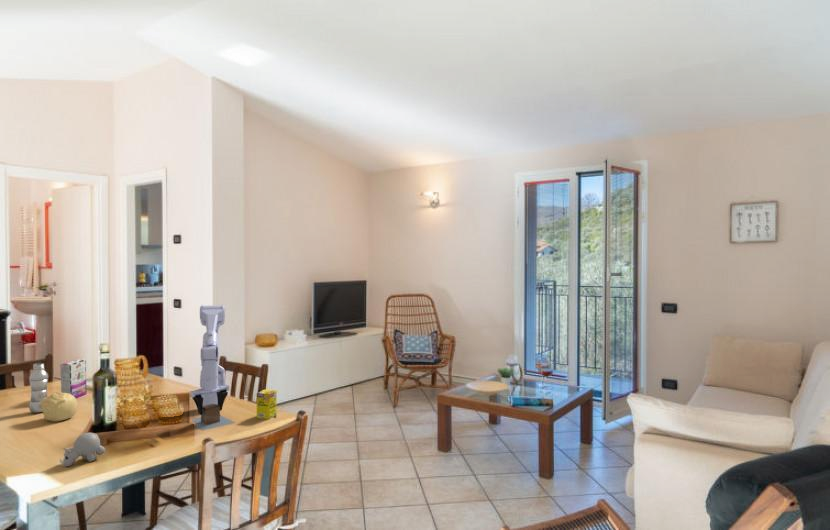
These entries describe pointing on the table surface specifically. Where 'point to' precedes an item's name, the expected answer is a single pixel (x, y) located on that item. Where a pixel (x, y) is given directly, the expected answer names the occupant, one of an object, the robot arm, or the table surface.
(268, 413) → the supplement box
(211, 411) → the walnut cap
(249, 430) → the table surface
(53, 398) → the pale yellow round lump
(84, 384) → the candy bar box
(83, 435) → the chubby cartoon animal
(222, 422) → the slate board
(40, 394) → the plastic bottle
